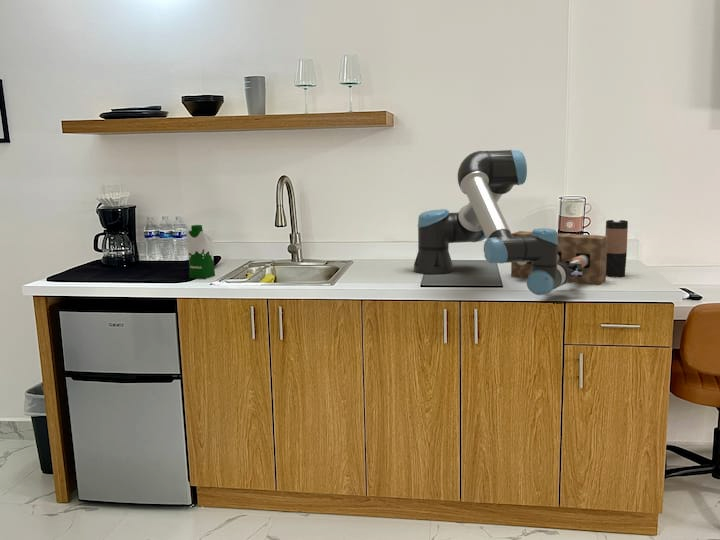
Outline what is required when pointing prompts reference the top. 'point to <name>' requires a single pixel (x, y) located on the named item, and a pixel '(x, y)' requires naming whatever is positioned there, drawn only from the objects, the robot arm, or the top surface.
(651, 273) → the top surface
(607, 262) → the travel mug
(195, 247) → the milk carton
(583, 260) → the terracotta button
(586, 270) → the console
